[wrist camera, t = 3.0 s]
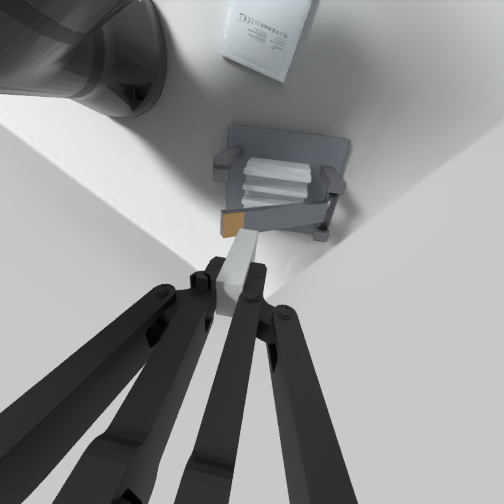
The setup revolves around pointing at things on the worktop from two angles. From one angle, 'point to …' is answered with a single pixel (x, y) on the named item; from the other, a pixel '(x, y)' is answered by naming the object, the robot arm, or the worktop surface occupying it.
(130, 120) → the worktop surface
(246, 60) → the external hard drive
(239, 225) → the lever
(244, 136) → the heatsink base
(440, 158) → the worktop surface
